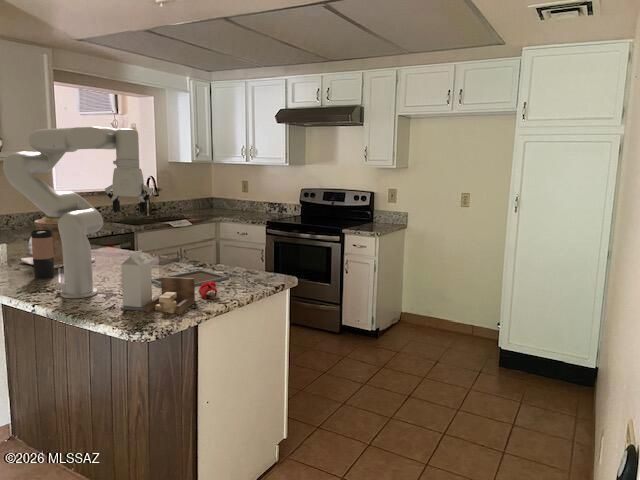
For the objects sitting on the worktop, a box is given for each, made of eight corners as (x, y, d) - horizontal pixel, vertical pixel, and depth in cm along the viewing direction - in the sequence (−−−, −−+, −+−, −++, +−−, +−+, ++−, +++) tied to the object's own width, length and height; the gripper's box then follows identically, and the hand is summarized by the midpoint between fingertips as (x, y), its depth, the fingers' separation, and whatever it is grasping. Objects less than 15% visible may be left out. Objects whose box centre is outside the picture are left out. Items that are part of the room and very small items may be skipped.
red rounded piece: (222, 289, 185) (217, 278, 188) (210, 286, 180) (204, 275, 184) (211, 303, 187) (205, 292, 191) (198, 301, 183) (193, 290, 186)
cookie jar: (47, 270, 218) (43, 199, 213) (18, 263, 231) (13, 196, 225) (97, 261, 239) (94, 196, 234) (68, 255, 252) (65, 193, 246)
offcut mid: (159, 303, 170) (158, 298, 169) (169, 301, 172) (169, 296, 171) (165, 309, 163) (165, 303, 163) (176, 307, 166) (176, 302, 165)
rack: (145, 313, 164) (144, 287, 163) (163, 300, 179) (162, 276, 178) (179, 314, 163) (179, 289, 162) (194, 301, 178) (194, 278, 177)
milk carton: (122, 306, 169) (120, 252, 166) (134, 300, 176) (132, 249, 173) (141, 308, 167) (139, 254, 164) (152, 302, 174) (150, 250, 171)
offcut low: (155, 311, 168) (154, 305, 167) (163, 308, 171) (163, 302, 171) (173, 314, 165) (173, 308, 164) (181, 311, 168) (181, 305, 168)
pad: (120, 309, 168) (120, 307, 167) (132, 301, 176) (132, 300, 176) (145, 310, 167) (145, 308, 167) (156, 302, 176) (156, 301, 176)
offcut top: (166, 296, 171) (166, 291, 171) (176, 297, 171) (176, 292, 170) (159, 302, 164) (158, 297, 164) (169, 302, 164) (169, 297, 164)
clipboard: (229, 276, 213) (169, 289, 190) (229, 280, 213) (169, 293, 190) (202, 269, 225) (143, 280, 202) (202, 272, 225) (143, 284, 202)
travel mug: (48, 274, 212) (45, 229, 208) (58, 277, 208) (55, 230, 204) (30, 277, 205) (27, 231, 202) (40, 280, 201) (37, 233, 198)
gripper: (99, 163, 169) (101, 212, 172) (147, 165, 167) (148, 214, 170) (109, 163, 176) (112, 210, 179) (156, 164, 175) (157, 212, 178)
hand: (129, 212), depth 175 cm, fingers open, 9 cm apart
